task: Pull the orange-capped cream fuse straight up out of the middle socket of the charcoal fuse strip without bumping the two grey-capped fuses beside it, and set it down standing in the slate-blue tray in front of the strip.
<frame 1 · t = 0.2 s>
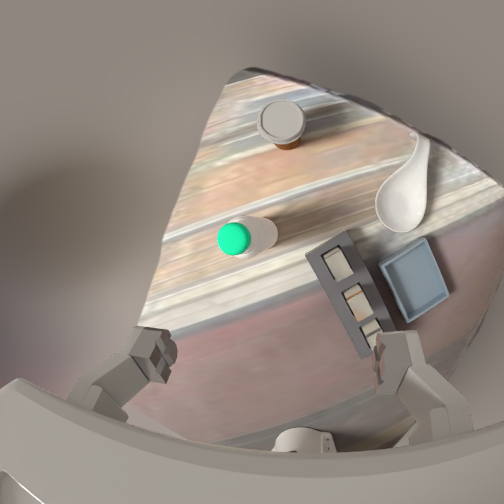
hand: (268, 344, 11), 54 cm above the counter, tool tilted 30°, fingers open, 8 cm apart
disposable coffee cup: (286, 137, 62), on the counter
tray: (412, 278, 58), on the counter
fuse 2: (335, 260, 61), point 1 cm above the counter, touching fuse strip
orange cap fuse: (354, 295, 61), point 1 cm above the counter, touching fuse strip
fuse strip: (353, 294, 62), on the counter
fuse 1: (371, 328, 60), point 1 cm above the counter, touching fuse strip
water bottle: (262, 233, 65), on the counter
spoon rest: (403, 181, 57), on the counter
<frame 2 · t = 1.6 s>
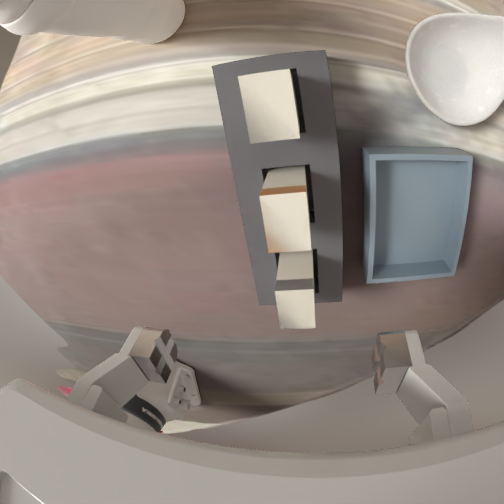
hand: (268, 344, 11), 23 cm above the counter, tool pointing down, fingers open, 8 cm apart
tray: (411, 209, 30), on the counter
fuse 2: (278, 101, 25), point 1 cm above the counter, touching fuse strip
orange cap fuse: (290, 186, 30), point 1 cm above the counter, touching fuse strip
fuse strip: (290, 183, 31), on the counter
fuse 1: (298, 258, 34), point 1 cm above the counter, touching fuse strip
water bottle: (158, 17, 22), on the counter
spoon rest: (471, 47, 18), on the counter
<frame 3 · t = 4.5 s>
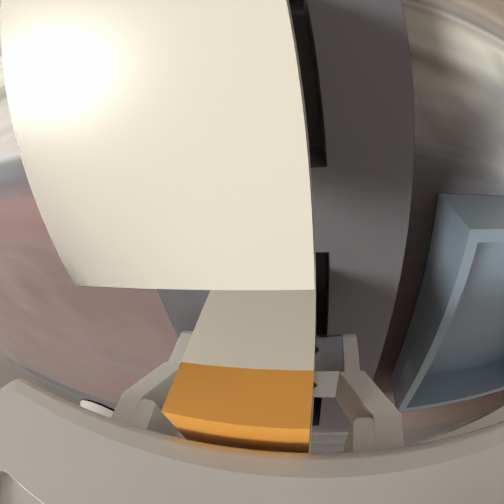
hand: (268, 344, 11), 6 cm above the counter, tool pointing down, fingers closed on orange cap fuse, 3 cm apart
tray: (488, 301, 14), on the counter
fuse 2: (254, 77, 9), point 1 cm above the counter, touching fuse strip
orange cap fuse: (280, 270, 14), point 1 cm above the counter, touching fuse strip, gripper
fuse strip: (282, 259, 15), on the counter
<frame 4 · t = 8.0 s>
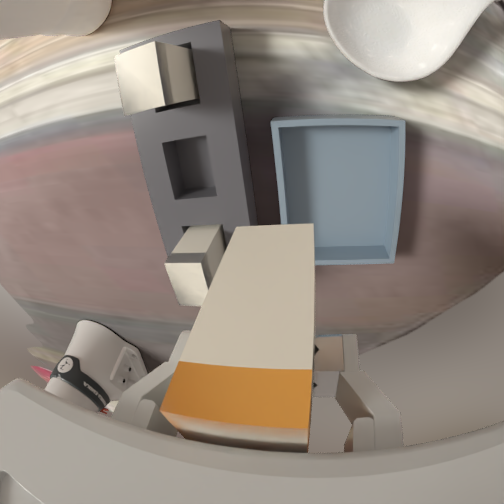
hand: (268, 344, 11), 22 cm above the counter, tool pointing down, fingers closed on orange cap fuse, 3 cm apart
tray: (338, 185, 29), on the counter
fuse 2: (184, 77, 24), point 1 cm above the counter, touching fuse strip
orange cap fuse: (279, 270, 14), point 17 cm above the counter, touching gripper
fuse strip: (202, 158, 29), on the counter
fuse 1: (214, 236, 33), point 1 cm above the counter, touching fuse strip
water bottle: (92, 11, 20), on the counter
spoon rest: (420, 7, 16), on the counter
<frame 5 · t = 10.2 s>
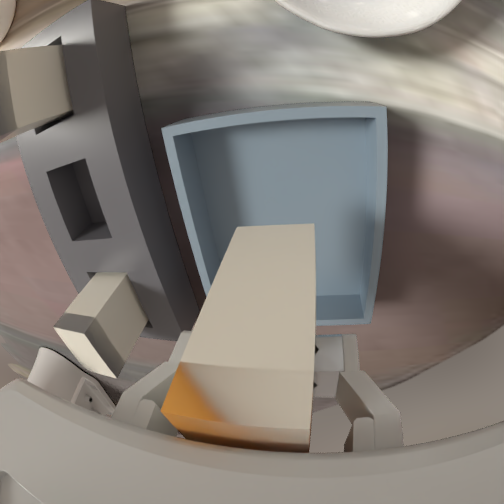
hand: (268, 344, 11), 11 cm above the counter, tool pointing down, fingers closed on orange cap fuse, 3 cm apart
tray: (287, 213, 20), on the counter
fuse 2: (73, 81, 15), point 1 cm above the counter, touching fuse strip
orange cap fuse: (280, 270, 14), point 7 cm above the counter, touching gripper
fuse strip: (106, 182, 21), on the counter
fuse 1: (134, 279, 25), point 1 cm above the counter, touching fuse strip
water bottle: (2, 19, 12), on the counter
when the fingers open (7 cm above the counter, at t = 11.9 s): orange cap fuse drops 1 cm, resting on tray.
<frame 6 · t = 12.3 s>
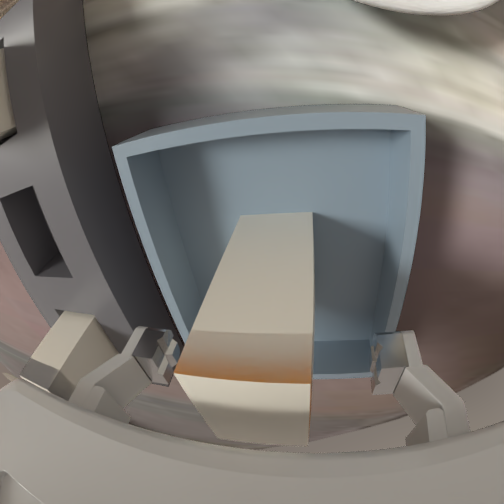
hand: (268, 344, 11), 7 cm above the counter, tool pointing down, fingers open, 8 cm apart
tray: (284, 248, 16), on the counter
fuse 2: (25, 88, 11), point 1 cm above the counter, touching fuse strip
orange cap fuse: (280, 256, 15), point 1 cm above the counter, touching tray
fuse strip: (69, 206, 17), on the counter
fuse 1: (109, 314, 21), point 1 cm above the counter, touching fuse strip
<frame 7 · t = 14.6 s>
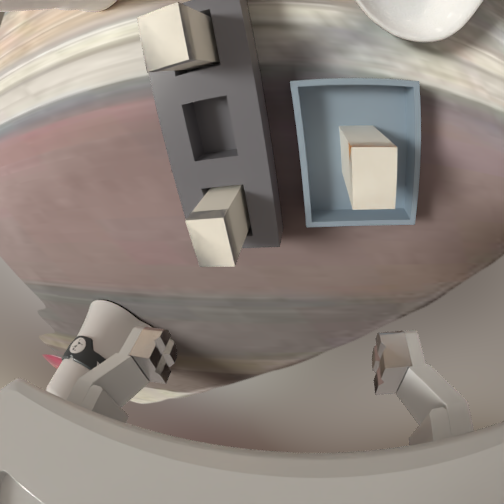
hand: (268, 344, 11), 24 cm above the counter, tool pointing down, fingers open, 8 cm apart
tray: (357, 147, 27), on the counter
fuse 2: (202, 44, 23), point 1 cm above the counter, touching fuse strip
orange cap fuse: (357, 148, 27), point 1 cm above the counter, touching tray
fuse strip: (221, 122, 29), on the counter
fuse 1: (234, 200, 33), point 1 cm above the counter, touching fuse strip
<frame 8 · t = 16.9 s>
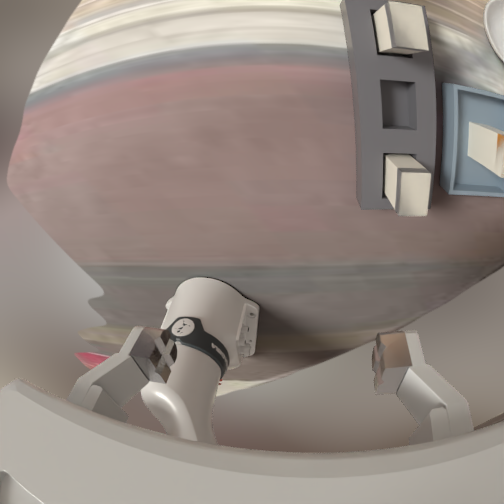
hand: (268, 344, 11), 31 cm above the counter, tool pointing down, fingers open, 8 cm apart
tray: (475, 138, 29), on the counter
fuse 2: (385, 36, 24), point 1 cm above the counter, touching fuse strip
orange cap fuse: (477, 139, 28), point 1 cm above the counter, touching tray
fuse strip: (390, 102, 30), on the counter
fuse 1: (393, 169, 34), point 1 cm above the counter, touching fuse strip
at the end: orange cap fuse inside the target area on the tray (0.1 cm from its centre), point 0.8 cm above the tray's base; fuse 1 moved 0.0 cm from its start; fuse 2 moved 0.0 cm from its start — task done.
